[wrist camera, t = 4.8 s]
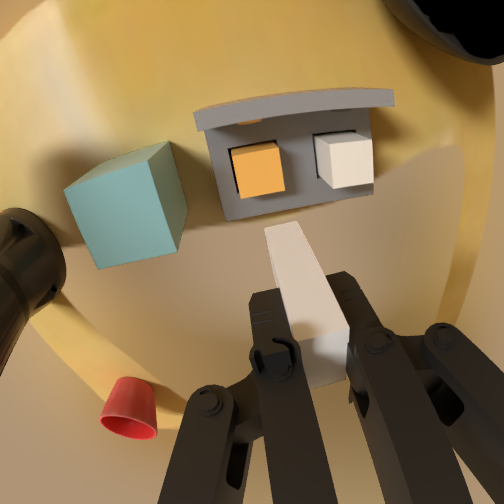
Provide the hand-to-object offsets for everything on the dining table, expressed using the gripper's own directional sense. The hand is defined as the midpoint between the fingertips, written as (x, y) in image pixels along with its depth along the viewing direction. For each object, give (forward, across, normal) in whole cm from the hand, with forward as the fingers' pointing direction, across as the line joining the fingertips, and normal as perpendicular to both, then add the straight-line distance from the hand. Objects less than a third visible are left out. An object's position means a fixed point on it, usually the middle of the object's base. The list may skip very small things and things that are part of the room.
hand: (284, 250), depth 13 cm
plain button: (+16, +8, 0) cm, 18 cm away
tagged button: (+18, 0, 0) cm, 18 cm away
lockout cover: (+18, -12, 0) cm, 22 cm away
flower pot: (+19, -31, -35) cm, 50 cm away
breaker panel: (+18, +4, 0) cm, 19 cm away
